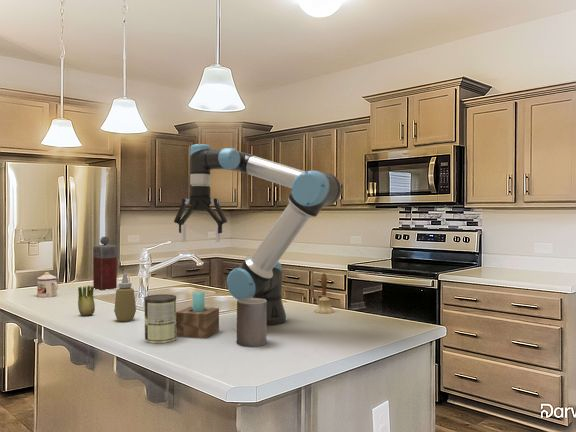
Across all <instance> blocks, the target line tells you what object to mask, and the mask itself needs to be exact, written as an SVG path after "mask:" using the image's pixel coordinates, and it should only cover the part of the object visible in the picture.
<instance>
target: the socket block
mask: <svg viewBox="0 0 576 432" xmlns="http://www.w3.org/2000/svg"><path fill="white" fill-rule="evenodd" d="M219 331H220V308H219V307H209V306H208V307H206V306H204V312H193V306H189V307H186V308H183V309H181V310H178V311H176V337H183V338H199V339H207V338H209V337H211V336H212V335H214V334H216V333H218V332H219Z"/></svg>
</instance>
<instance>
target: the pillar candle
mask: <svg viewBox="0 0 576 432" xmlns="http://www.w3.org/2000/svg"><path fill="white" fill-rule="evenodd" d="M266 318H267V301H266V300H265V299H261V298H252V296H251V298H243V299H239V300H237V299H236V342H235V343H236V344H237V345H239V346H242V347H250V348H251V347H253V348H254V347H259V346H263V345H265V344H266V343H267V325H266Z"/></svg>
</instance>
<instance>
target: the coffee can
mask: <svg viewBox="0 0 576 432" xmlns="http://www.w3.org/2000/svg"><path fill="white" fill-rule="evenodd" d="M143 300H144V342H146V343H148V344H149V343H150V344H165V343H171V342H173V341H175V340H177V336H176V312H177V296H176V295H175V294H166V293H165V294H162V293H161V294H150V295H146V296H144V298H143Z"/></svg>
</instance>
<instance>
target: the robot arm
mask: <svg viewBox="0 0 576 432" xmlns="http://www.w3.org/2000/svg"><path fill="white" fill-rule="evenodd" d="M189 153H190V154H189V166H190V173H189V174H190V175H189V177H190V180H189V181H190V183H189V184H190V187H189V189H190V190H189V193H190V194H189V196H190V197H189V198H182V199H181V205H180V206H179V209H178V211H177V214H176V215H175V218H174V220H173V222H174V223H175V224H178V233H179V234H180V240H181V241H180V242H181V243H184V242H185V243H186V241H187V239H186V238H187V237H186V236H187V232H186V231H187V229H186V228H187V224H185V222H187V220H188V219H189V218H190V216H191V215H192V214H193V213H194V211H206V212H207V213H208V214H209V215H210V216H211V217H212V219H213V220H214V221H215V223H216V224H215V243H220V242H221V234H222V233H223V225H224V224H228V219H227V217H226V215H225V213H224V212H223V210H222V207H221V205H220V200H219V198H211V187H210V186H211V170H226V171H227V170H228V171H234V172H240V173H243V174H246V175H250V176H254V178H255V177H256V178H259V179H263V180H265V181H268V182H271V183H274V184H277V185H281V186H283V187H286V188H290V189H291V193H290V194H289V195H288V197H287V199H288V204H287V206H286V207H285V209H284V210H283V212H282V213H281V214H280V216H279V217H278V218H277V220H276V222H274V224H273V226H272V227H271V229H270V230H269V231H268V233H267V234H266V236H265V237H264V239H263V240H262V241H261V243H260V244H259V245H258V247H257V248H256V250H255V251H254V253H253V254H252V255H248V256H246V257H245V258H244V259H243V261H242V263H241V264H240V265H239V266H238V267H236V268H234V269H232V270H231V271H230V272H229V273H228V275H227V279H226V286H227V290H228V292H229V294H230V295H231V296H232V297H233V298H235V300H236V301H237V300H239V299H243V298H251V296H252V298H261V299H265V300H266V301H267V318H266V326H268V325H269V326H270V325H271V326H273V325H281V324H284V323H285V322H287V314H286V310H285V307H284V305H283V301H282V298H283V297H282V295H283V292H282V291H283V289H282V283H283V280H282V279H283V278H282V277H283V276H282V275H283V274H282V273H283V270H282V264H281V262H279V261H280V259H282V257H283V255H284V254H285V252H286V251H287V250H288V248H290V246H291V244H292V242H294V240H295V238H297V236H298V234H299V233H300V232H301V230H302V229H303V227H305V225H306V223H307V222H308V221H309V220H310V219H311V218H317V216H318V215H319V213H320V212H321V210H322V209H323V208H324V207H328V206H331V205H333V204H335V203H336V202H338V200H339V198H340V197H341V195H342V185H341V184H342V183H341V181H340V180H339V178H337V176H336V175H334V174H332V173H330V172H329V173H328V172H323V171H318V170H315V169H314V170H302V169H298V168H295V167H292V166H290V165H286V164H282V163H279V162H275V161H272V160H269V159H265V158H262V157H259V156H257V155H253V154H250V153H248V152H245V151H244V152H242V151H238V150H237V149H236V148H234V147H233V148H232V147H229V148H228V147H225V148H217V149H216V148H215V149H211V146H210V145H209V144H206V143H205V144H204V143H203V144H202V143H195V144H192V145H191V146H190V151H189ZM189 204H190V205H191V206H189V208H188V210H187V211H186V212H185V210H186V209H187V207H188V205H189ZM211 204H213V205H214V208H215V210H216V212H217V213H218V214H216V212H214V209H213V208H212V206H210V205H211ZM184 213H185V214H184ZM183 214H184V215H183Z"/></svg>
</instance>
